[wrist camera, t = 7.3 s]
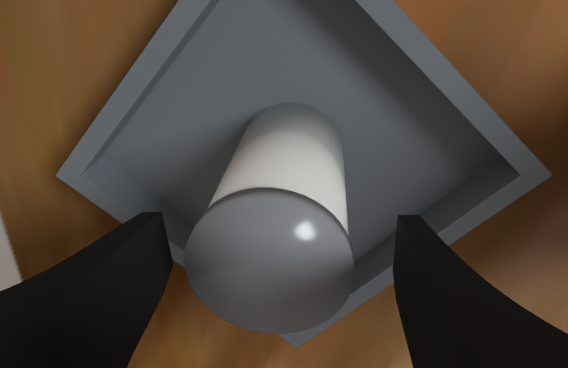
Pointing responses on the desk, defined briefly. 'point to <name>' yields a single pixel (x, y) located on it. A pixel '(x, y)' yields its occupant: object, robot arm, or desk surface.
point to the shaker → (276, 227)
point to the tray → (314, 92)
